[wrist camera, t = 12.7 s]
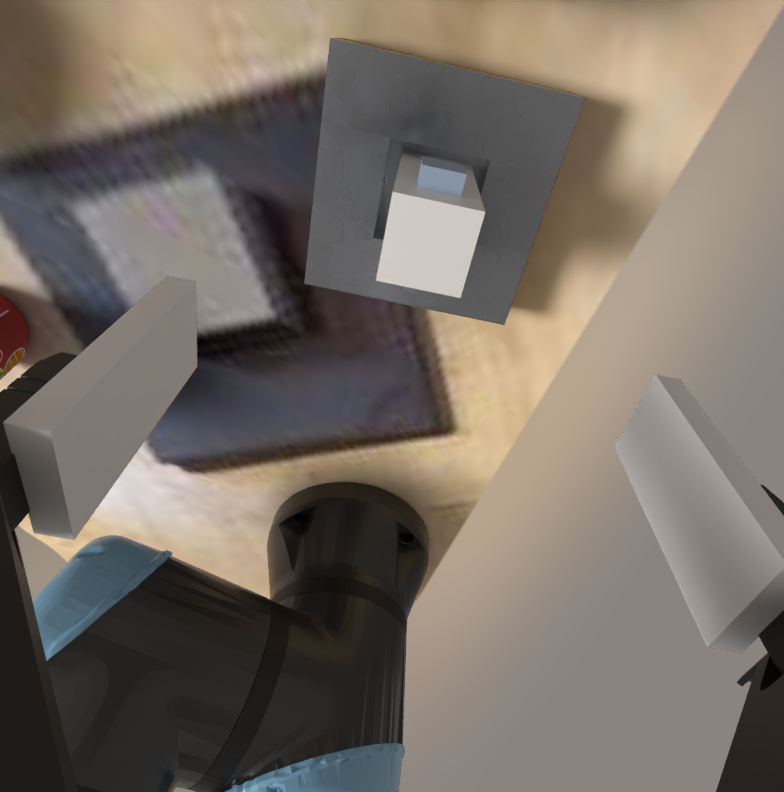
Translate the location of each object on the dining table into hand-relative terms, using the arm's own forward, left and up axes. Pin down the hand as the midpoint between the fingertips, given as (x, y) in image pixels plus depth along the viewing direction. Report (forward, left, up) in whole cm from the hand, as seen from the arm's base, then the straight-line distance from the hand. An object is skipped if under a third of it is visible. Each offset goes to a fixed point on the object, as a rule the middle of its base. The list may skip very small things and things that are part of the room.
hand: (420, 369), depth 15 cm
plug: (0, 0, -20) cm, 20 cm away
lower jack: (0, 0, -21) cm, 21 cm away
